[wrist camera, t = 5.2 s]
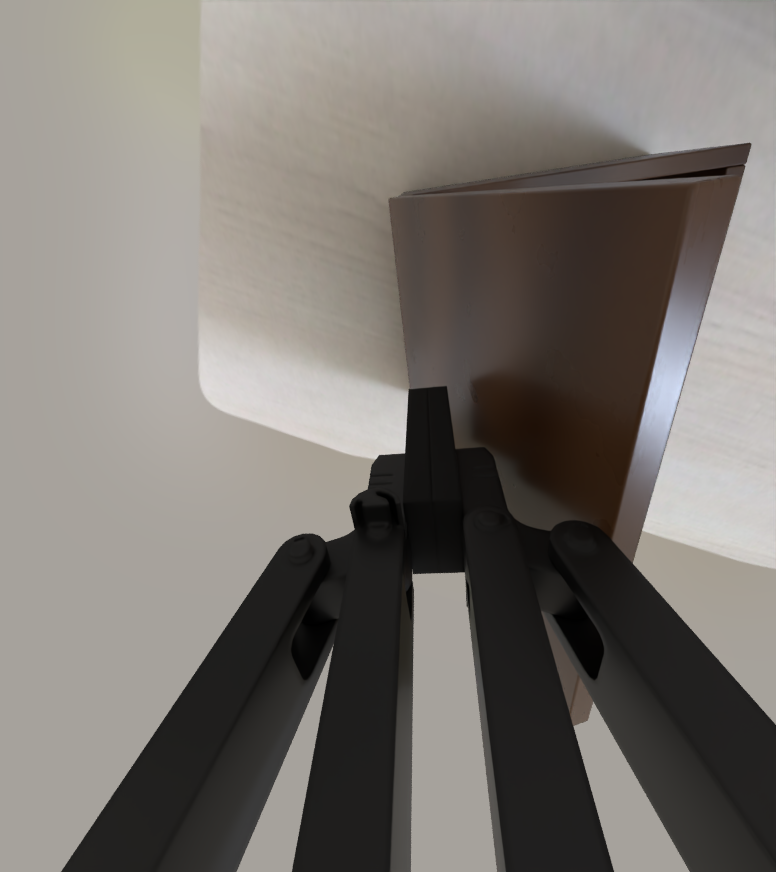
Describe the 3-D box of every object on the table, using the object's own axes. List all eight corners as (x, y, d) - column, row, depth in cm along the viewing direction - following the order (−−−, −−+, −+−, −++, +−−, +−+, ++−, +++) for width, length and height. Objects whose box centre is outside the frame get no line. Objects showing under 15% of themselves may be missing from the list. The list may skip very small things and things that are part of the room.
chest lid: (746, 173, 5) (693, 182, 5) (589, 721, 13) (566, 729, 13) (404, 195, 19) (388, 198, 19) (428, 456, 27) (417, 459, 27)
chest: (652, 154, 25) (753, 142, 17) (612, 378, 33) (669, 436, 25) (402, 192, 27) (396, 196, 19) (422, 395, 35) (423, 454, 27)
